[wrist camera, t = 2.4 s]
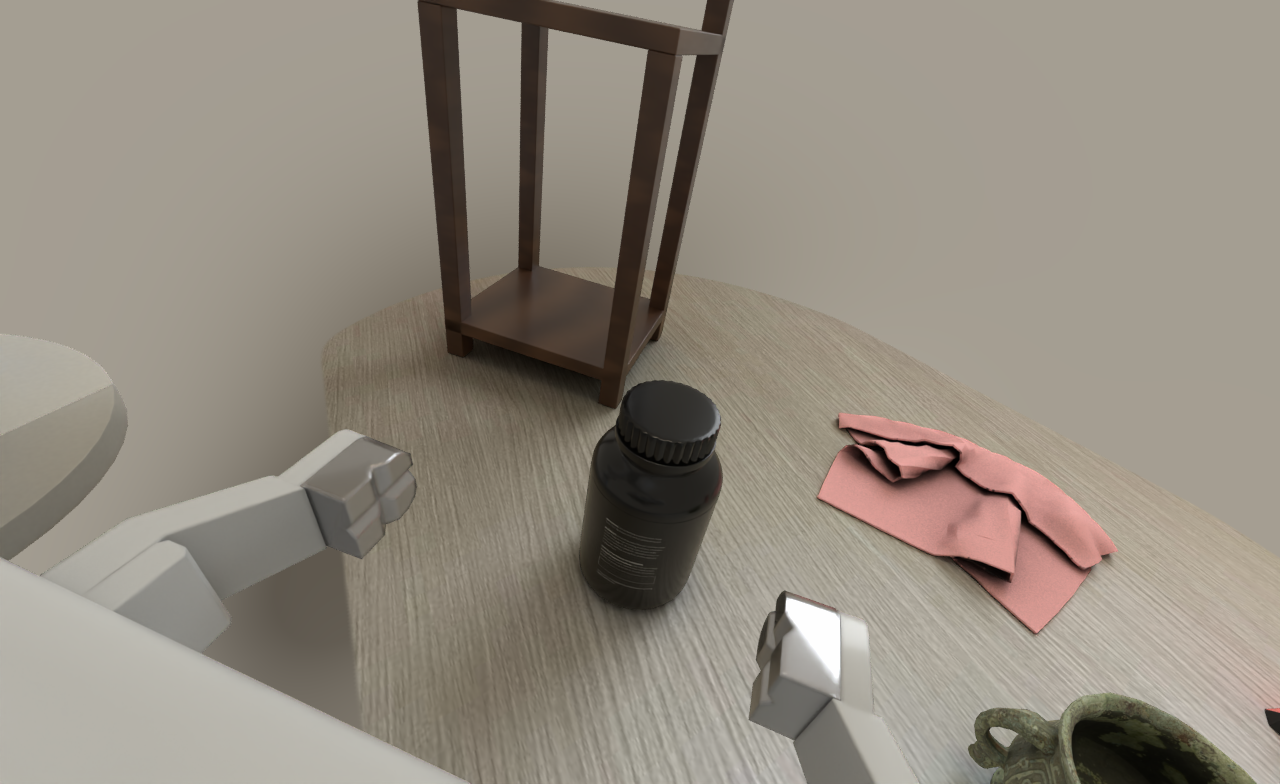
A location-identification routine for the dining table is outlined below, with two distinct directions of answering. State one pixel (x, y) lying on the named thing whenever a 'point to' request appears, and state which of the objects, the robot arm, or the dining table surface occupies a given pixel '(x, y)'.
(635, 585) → the supplement bottle
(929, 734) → the dining table surface
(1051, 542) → the cloth
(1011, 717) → the vessel
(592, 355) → the shelf
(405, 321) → the dining table surface
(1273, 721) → the cat figurine
